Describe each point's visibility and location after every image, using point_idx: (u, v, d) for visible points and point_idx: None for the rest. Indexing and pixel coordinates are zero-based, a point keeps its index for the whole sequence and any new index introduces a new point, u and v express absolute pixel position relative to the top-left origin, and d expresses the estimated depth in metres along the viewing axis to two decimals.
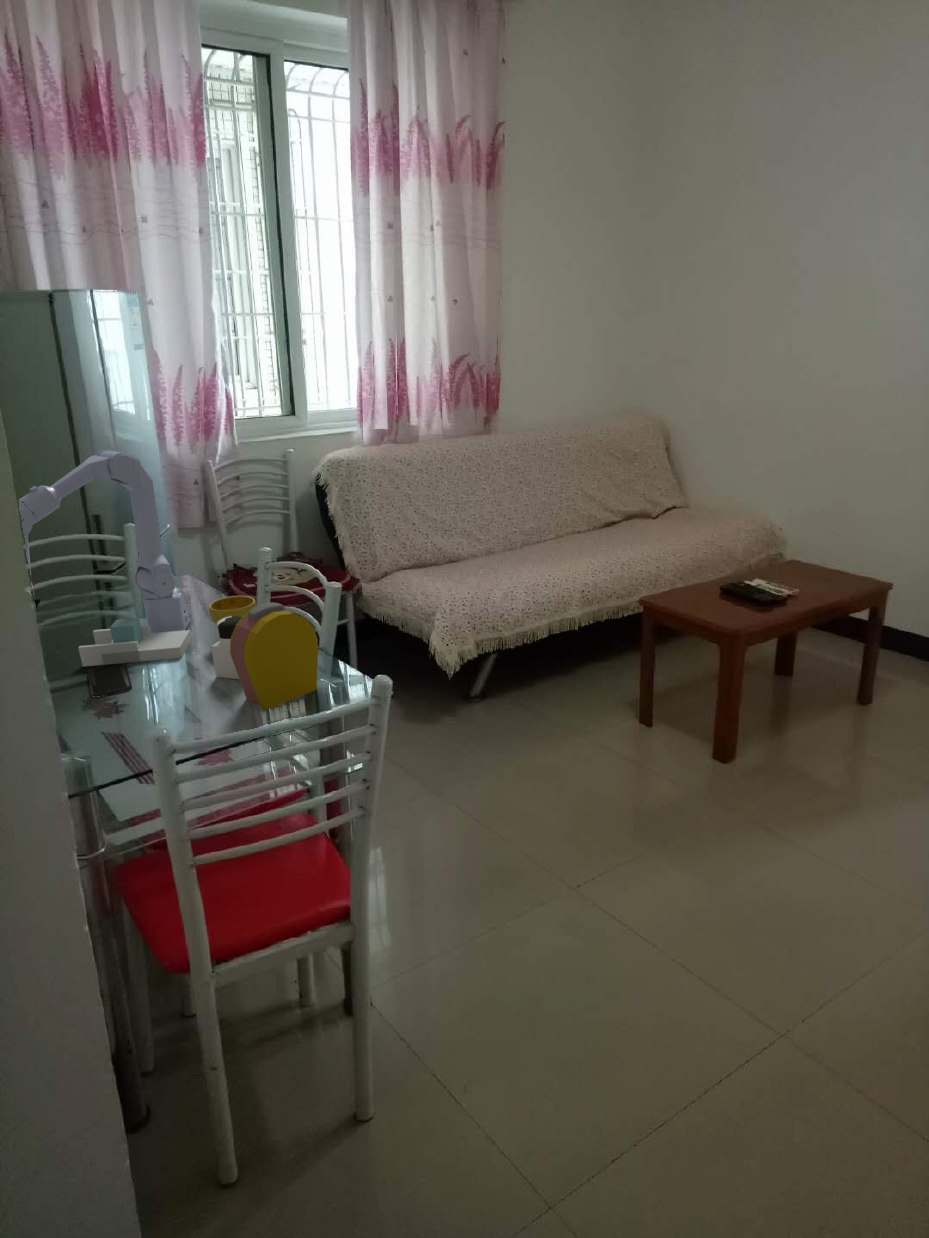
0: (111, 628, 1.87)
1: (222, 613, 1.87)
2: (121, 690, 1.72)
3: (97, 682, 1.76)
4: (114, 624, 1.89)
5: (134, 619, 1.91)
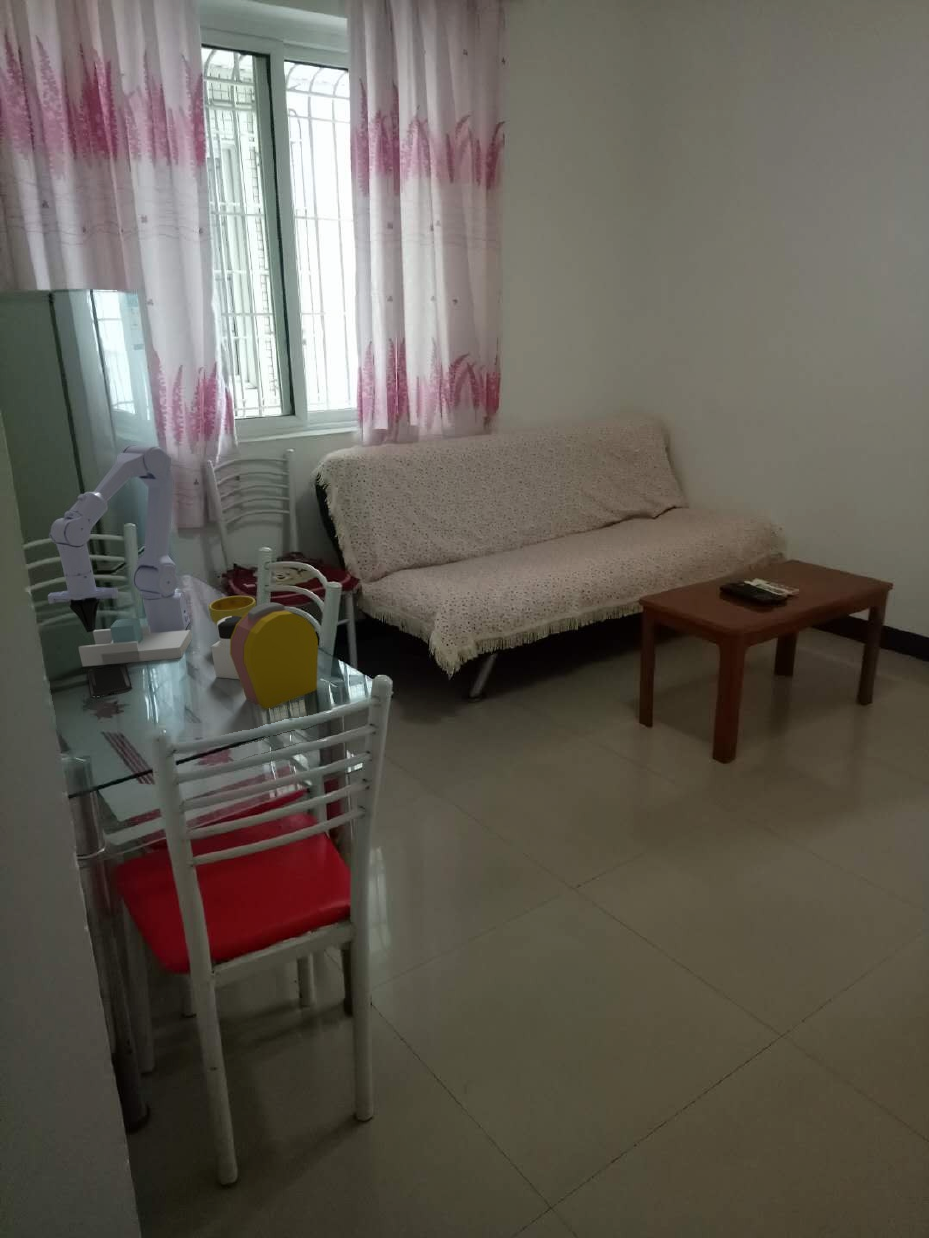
0: (111, 628, 1.87)
1: (222, 613, 1.87)
2: (121, 690, 1.72)
3: (97, 681, 1.76)
4: (114, 624, 1.89)
5: (134, 619, 1.91)
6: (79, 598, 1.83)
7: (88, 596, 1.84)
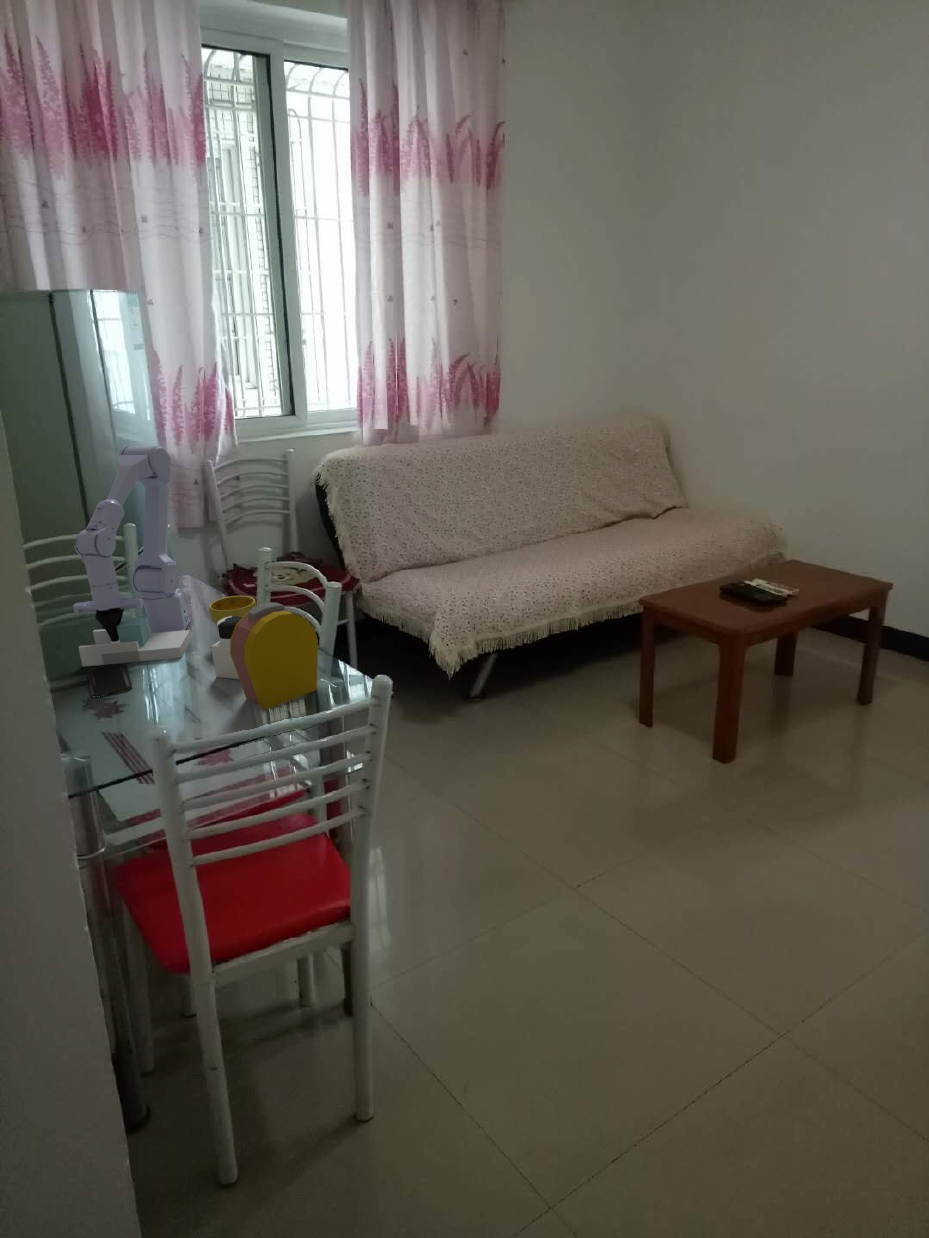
0: (118, 627, 1.87)
1: (222, 613, 1.87)
2: (121, 690, 1.72)
3: (97, 682, 1.76)
4: (121, 623, 1.89)
5: (141, 618, 1.91)
6: (104, 609, 1.84)
7: (113, 606, 1.86)
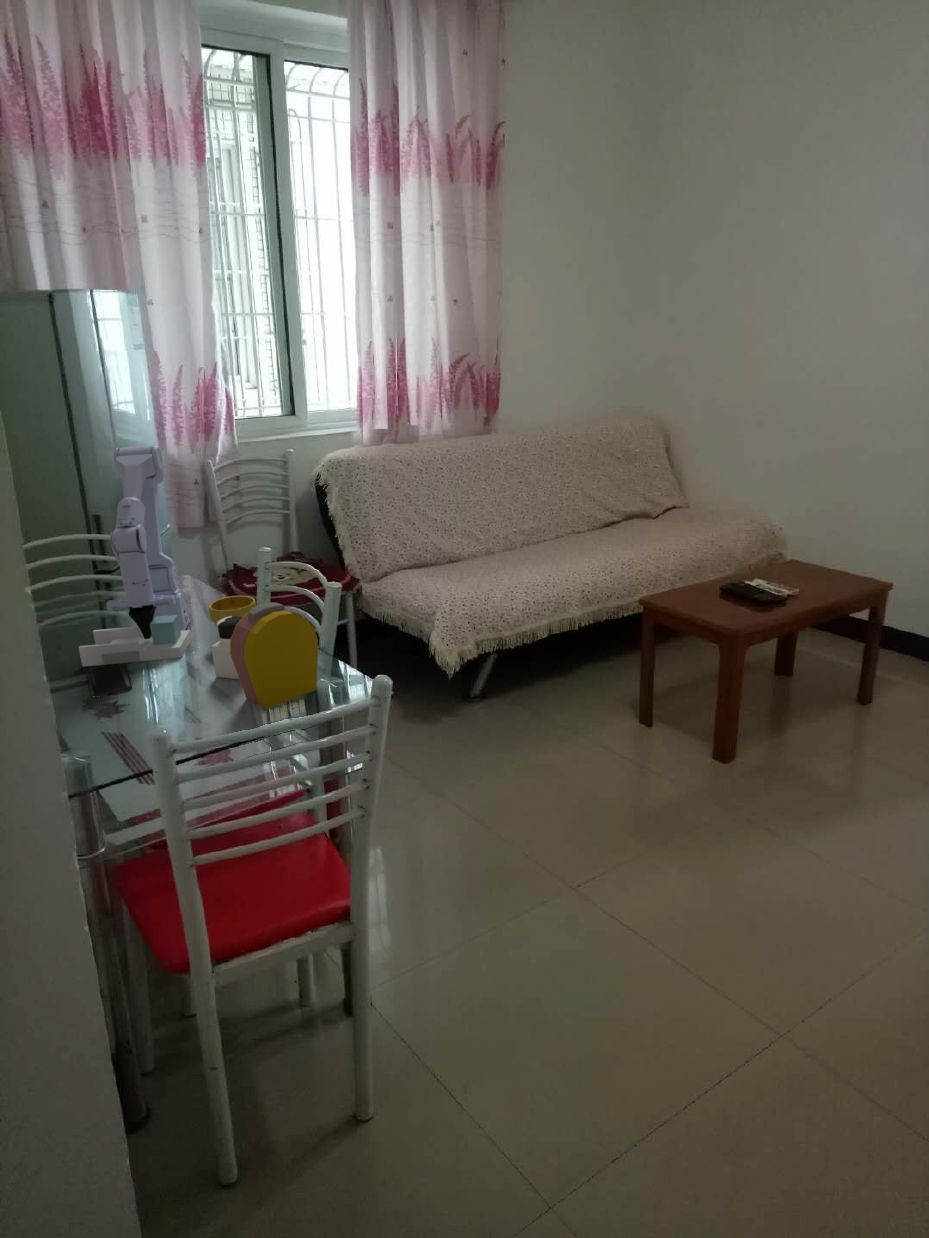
0: (151, 625, 1.88)
1: (222, 613, 1.87)
2: (121, 690, 1.72)
3: (97, 682, 1.76)
4: (153, 621, 1.89)
5: (173, 616, 1.92)
6: (138, 606, 1.85)
7: (147, 604, 1.86)
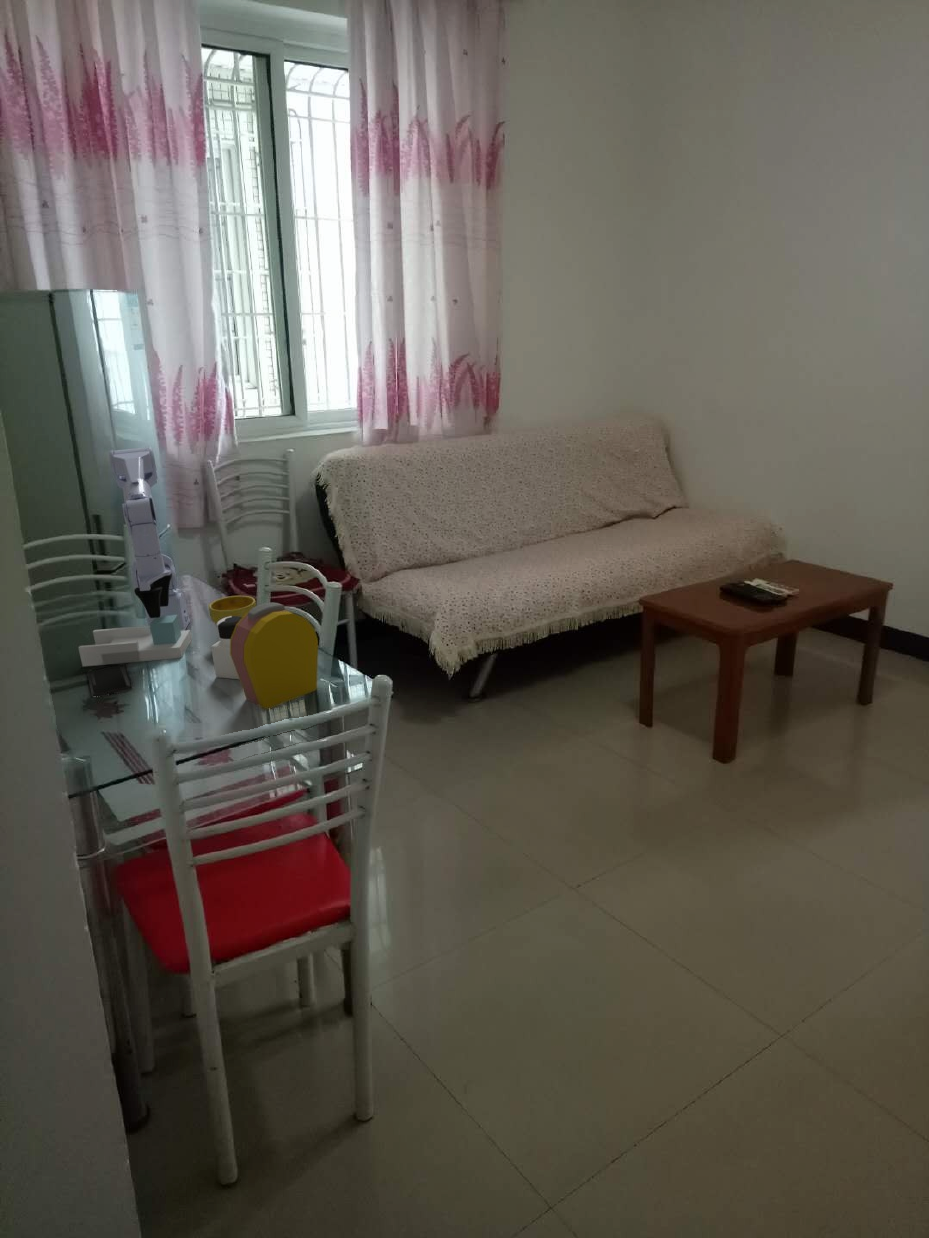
0: (151, 625, 1.88)
1: (222, 613, 1.87)
2: (121, 690, 1.72)
3: (97, 682, 1.76)
4: (153, 621, 1.89)
5: (173, 616, 1.92)
6: (170, 571, 1.87)
7: None
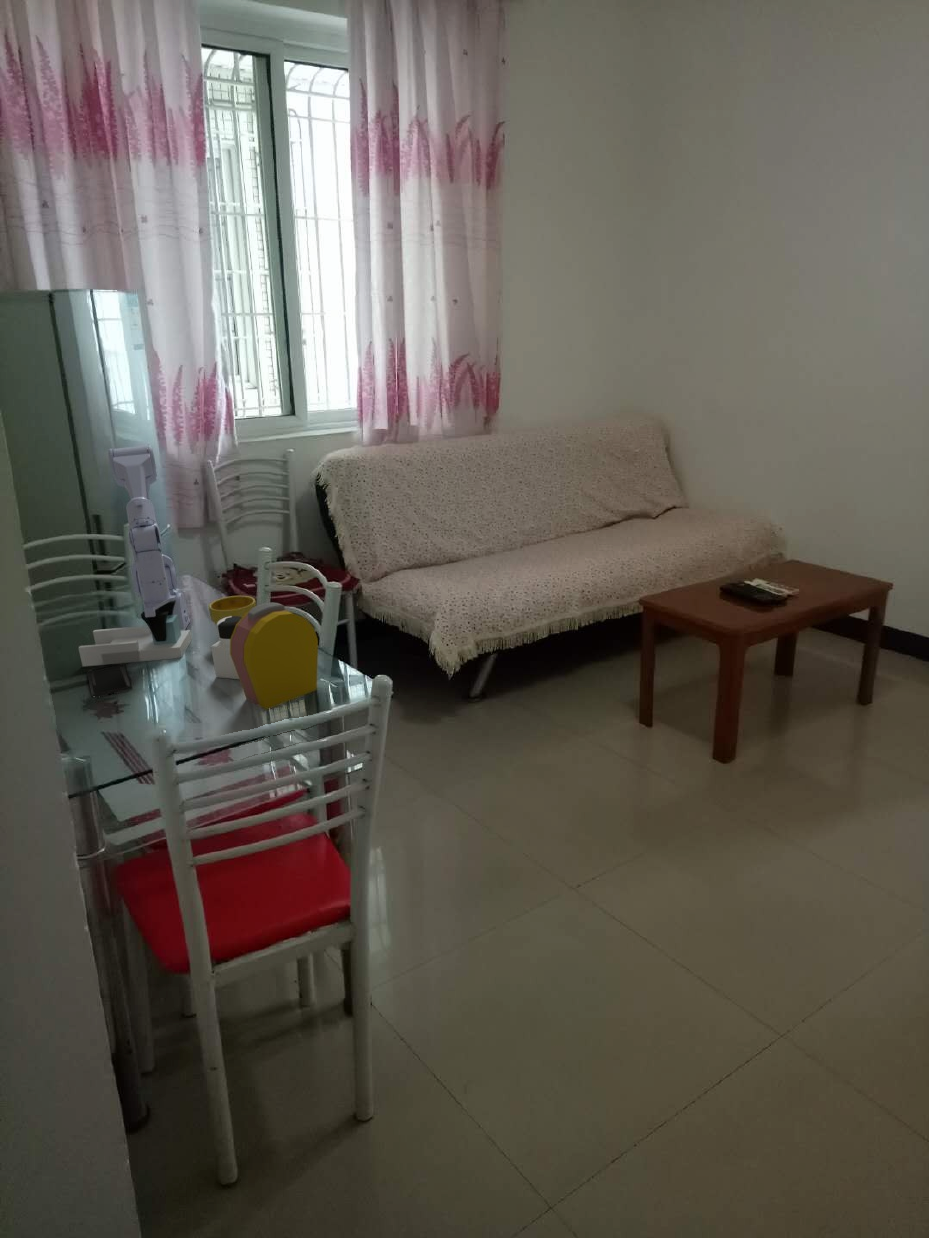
0: None
1: (222, 612, 1.87)
2: (121, 690, 1.72)
3: (97, 682, 1.76)
4: None
5: (173, 616, 1.92)
6: (175, 597, 1.89)
7: None
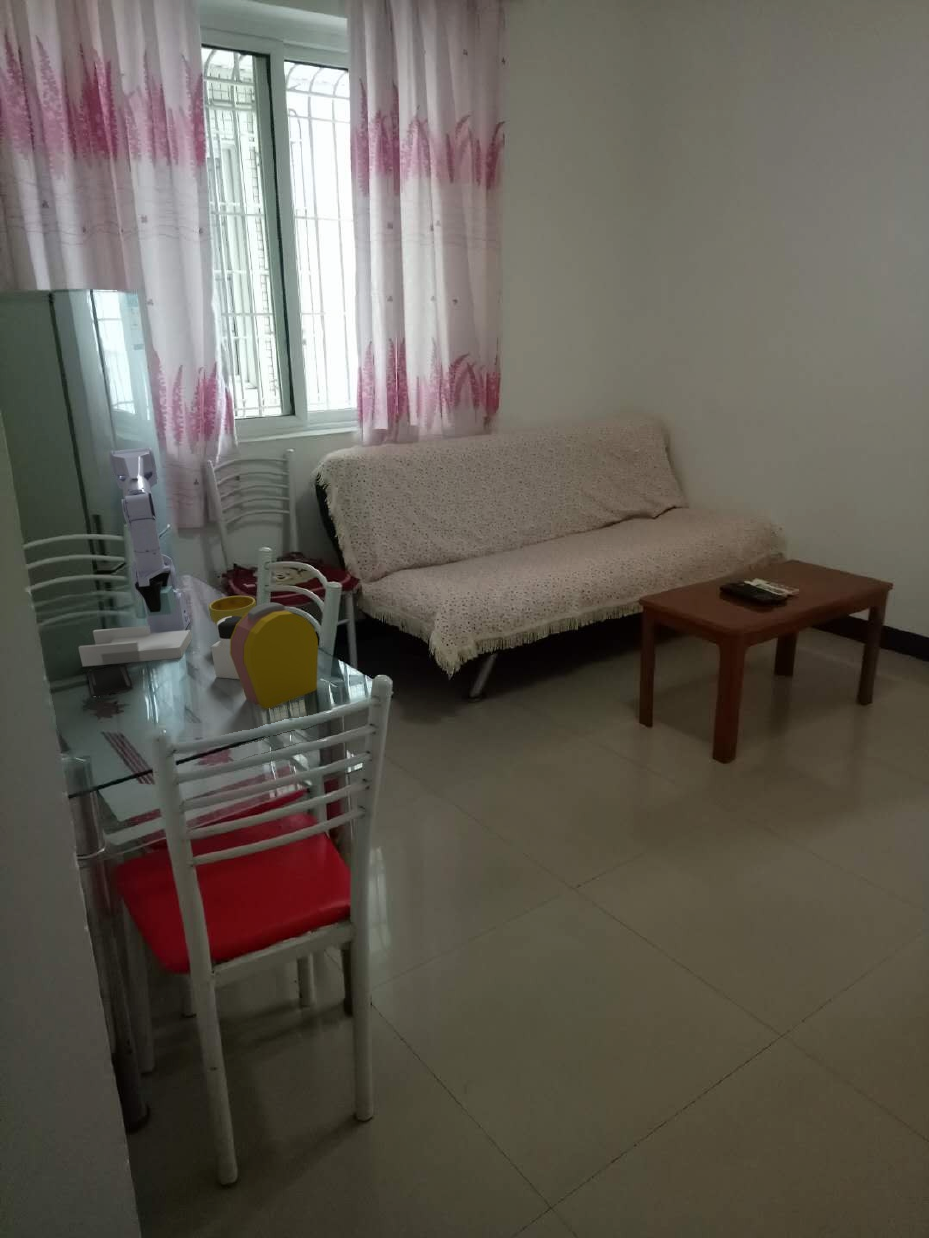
0: None
1: (222, 613, 1.87)
2: (122, 690, 1.72)
3: (97, 682, 1.76)
4: None
5: (168, 587, 1.90)
6: (170, 567, 1.87)
7: None
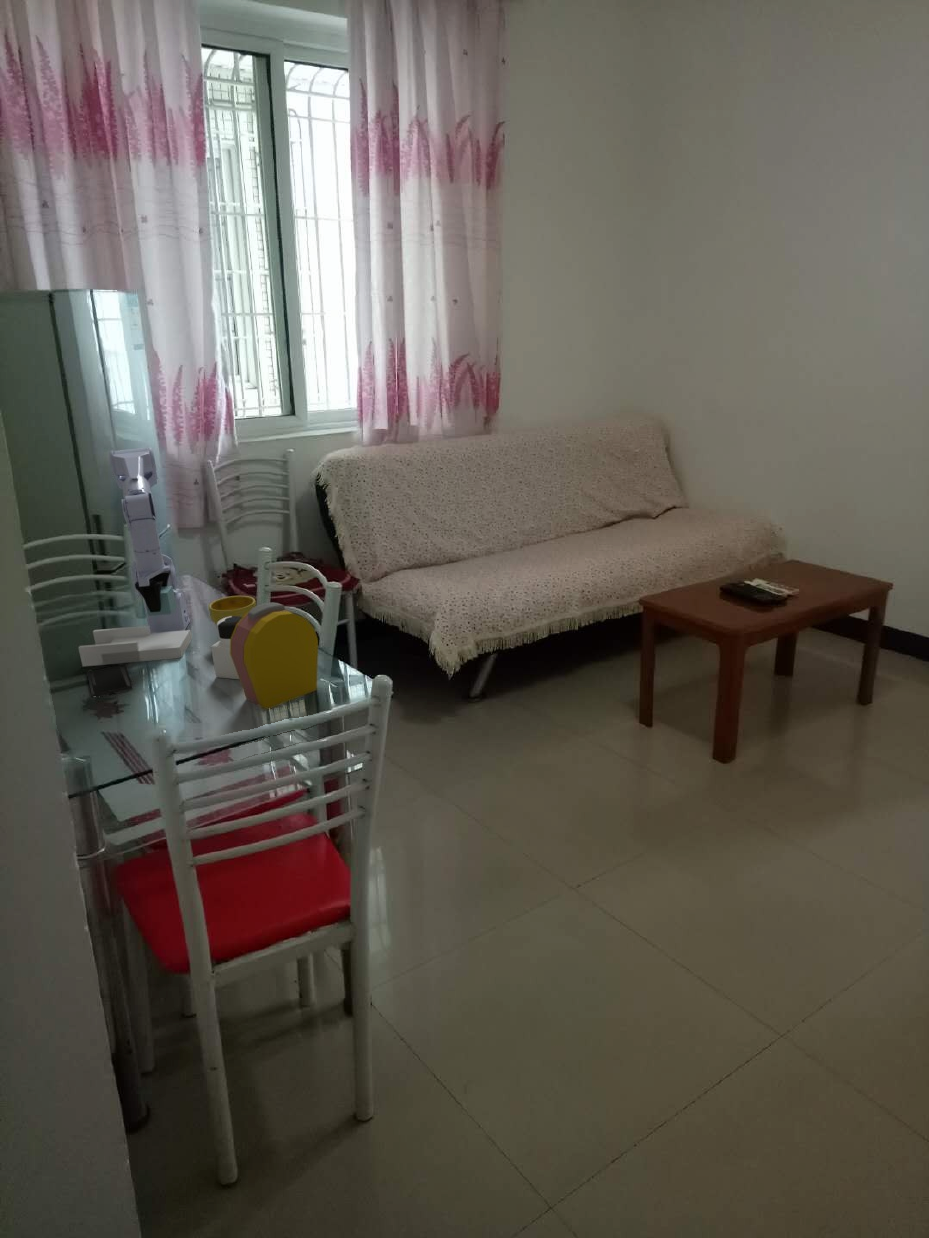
0: None
1: (222, 613, 1.87)
2: (122, 690, 1.72)
3: (97, 682, 1.76)
4: None
5: (168, 587, 1.90)
6: (170, 567, 1.87)
7: None
